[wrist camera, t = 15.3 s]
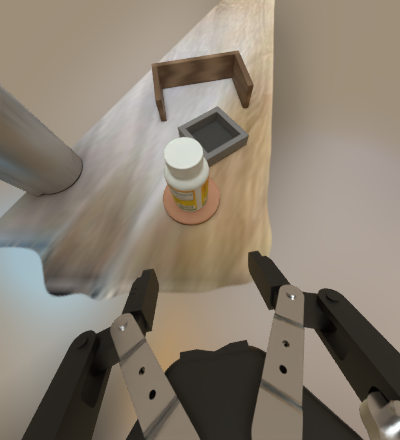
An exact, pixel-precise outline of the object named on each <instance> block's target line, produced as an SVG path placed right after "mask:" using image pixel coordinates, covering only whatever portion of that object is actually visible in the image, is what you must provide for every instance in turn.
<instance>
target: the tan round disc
mask: <svg viewBox="0 0 400 440" xmlns="http://www.w3.org/2000/svg"><path fill="white" fill-rule="evenodd" d="M219 199H220V193H219V189H218V187H217V185H216V183H215V182H214V181H213V180H212V179H211V178H210V177H209V184H208V199H207V202H206V204H205V205H204V206H203V207H202V208H201V209H199V210H197V211H193V212H188V211H184V210H182V209H180V208H179V207H178V206H177V205H176V203H175V201H174V198H173V196H172V194H171V191H170V189H169V187H168V185H167V186H166V188H165V191H164V195H163V202H164V206H165V209H166V210H167V212H168V214H169V215H170V216H171V217H172V218H173V219H174V220H176V221H177V222H179V223H182V224H186V225H196V224H200V223H203V222H205V221H207V220H208V219H209V218H211V217H212V216H213V215H214V213H215V212H216V210H217V208H218V205H219Z"/></svg>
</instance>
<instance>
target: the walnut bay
mask: <svg viewBox="0 0 400 440" xmlns="http://www.w3.org/2000/svg"><path fill="white" fill-rule="evenodd" d="M152 72H153V82H154V91H155V100H156V104H157V107H158V111H159V114H160V117H161V121H166V113H165V106H164V98H163V91H162V89H163V88H170V87H176V86H182V85H189V84H195V83H201V82H207V81H214V80H220V79H226V78H232V79H233V82H234V85H235V87H236V90H237V93H238V95H239V98H240V101H241V103H242V106H243V108H247V107H248V106H249V102H250V97H251V93H252V89H253V82H252V80H251V78H250V76H249V73H248V71H247V69H246V66H245V64H244V62H243V60H242V57H241V55H240V53H239V51H232V52H226V53H219V54H213V55H207V56H200V57H194V58H187V59H181V60H175V61H168V62H162V63H155V64H152Z"/></svg>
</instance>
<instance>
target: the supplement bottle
mask: <svg viewBox="0 0 400 440" xmlns="http://www.w3.org/2000/svg"><path fill="white" fill-rule="evenodd" d="M164 159H165V162H166V164H165V167H164V176H165V179H166V182H167V184H168V187H169V189H170V191H171V194H172V196H173V198H174V201H175V203H176V205H177V206H178V207H179V208H180V209H182V210H184V211H188V212H193V211H197V210H199V209H201V208H202V207H203V206H204V205H205V204H206V202H207V199H208V184H209V166H208V163H207V161H206V159H205V158H204V157H203V149H202V146H201V145H200V144H199V142H197V141H196V140H194V139H192V138H188V137H181V138H177V139H174V140H172V141H171V142H170V143H169V144H168V145H167V146H166V148H165V150H164Z"/></svg>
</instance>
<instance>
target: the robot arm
mask: <svg viewBox="0 0 400 440" xmlns="http://www.w3.org/2000/svg"><path fill="white" fill-rule="evenodd" d="M81 170H82V162H81V159H80V158H79V156H78V155H77V154H76V153H74V152H73V151H72V149H71V148H69V147H68V146H67V145H66V144H65V143H63V141H61V140H60V139H59V138H58V137H57V136H56V135H55V134H54V133H53V132H52V131H50V130H49V129H48V128H47V127H46V126H45V125H44V124H43V123H42V122H41V121H40V120H39V119H38V118H36V117H35V116H34V115H33V114H32V113H31V112H30V111H29V110H28V109H26V108H25V107H24V106H23V105H22V104H21V103H20V102H19V101H18V100H17V99H16V98H15V97H14V96H12V95H11V94H10V93H9V92H8V91H7V90H6V89H5V88H4V87H3V86H2V85H0V180H2V181H4V182H6V183H9V184H11V185H13V186H15V187H17V188H20V189H22V190H24V191H26V192H28V193H31V194H33V195H35V196H39V195H41V194H52V193H57V192H60V191H62V190H64V189H66V188H68V187H69V186H71V185H72V184H73V183H74V182H75V181H76V180H77V178H78V177H79V175H80V173H81ZM248 268H249V272H250V274H251V276H252V278H253V280H254V282H255V284H256V286H257V288H258V289H259V291H260V293H261V295H262V297H263V299H264V301H265V303H266V305H267V307H268V309H269V310H273V309H274V310H275V315H274V318H273V323H272V328H271V333H270V338H269V344H268V348H267V353H266V352H264V351H263V350H261V349H259V348H256V347H253V346H248V343H247V340H244V341H239V342H234V343H230V344H228V345H226V346H224V347H222V348H220V349H219V350H217V351H214V352H213V351H205V350H197V349H196V350H191V351H186V352H181V353H180V359H179V360H177V361H175V362H174V363H173V364H172V365H171V366H170V367H169V368H168V369H167V370H166V371H165V373H164V372H163V370H162V368H161V366H160V365H159V363H158V361H157V359H156V357H155V355H154V354H153V352H152V350H151V348H150V346H149V344H148V343H147V341H146V339H145V335H146V332H149V331H152V325H153V320H154V314H155V308H156V302H157V296H158V291H159V283H158V280H157V277H156V274H155V271H154V269H148V270H144V271H143V273H142V276H141V277H140V278H137V279H136V280H135V282H134V283H133V285H132V288H131V291H130V293H129V296H128V299H127V301H126V304H125V307H124V309H123V312H122V315H121V316H119V317H118V318H117V319H116V320H115V321H114V322H113V323H112V325H111V327H109V328H107V329H105V330H103V331H101V332H99V333H97V334H96V333H95V332H94V331H92V330H90V331H86V332H84V333H82V334H80V335H79V336H78V337H77V338H76V339H75V340H74V341H73V342H72V344H71V345H70V347H69V349H68V351H67V353H66V355H65V357H64V359H63V361H62V363H61V364H60V366H59V368H58V370H57V372H56V374H55V376H54V378H53V380H52V382H51V384H50V386H49V388H48V390H47V392H46V393H45V395H44V397H43V399H42V401H41V403H40V405H39V407H38V409H37V411H36V413H35V415H34V417H33V418H32V420H31V422H30V424H29V426H28V428H27V430H26V432H25V434H24V436H23V438H22V440H91V439H92V436H93V432H94V428H95V425H96V421H97V418H98V414H99V411H100V407H101V403H102V400H103V396H104V393H105V389H106V385H107V382H108V378H109V375H110V371H111V368H112V366H113V365H115V364H116V363H118V362H119V364H120V367H121V370H122V373H123V376H124V379H125V382H126V385H127V388H128V391H129V394H130V397H131V399H132V402H133V405H134V408H135V411H136V414H137V417H138V419H137V421H136V423H135V424H134V426H133V428H132V430H131V432H130V433H129V435H128V437H127V438H126V440H363V439H362V438H361V437H360V436H359V435H358V434H357V433H356V432H355V431H353V429H351V428H350V427H349V426H348V425H347V424H346V423H345V422H343V420H341V419H340V418H339V417H338V416H337V415H336V414H335V413H333V412H332V411H331V410H330V409H329V408H328V407H327V406H326V405H325V404H323V403H322V402H321V401H320V400H319V399H318V398H317V397H316V396H315V395H313V394H312V393H311V392H310V391H309V390H308V389H307V388H305V387H304V386H303V360H304V327H307V328H313V329H315V331H316V333H317V334H318V335H319V337H320V339H321V340H322V342H323V343H324V345H325V346H326V348H327V349H328V351H329V353H330V354H331V356H332V357H333V359H334V360H335V362H336V363H337V365H338V366H339V368H340V369H341V371H342V373H343V374H344V376H345V377H346V379H347V380H348V382H349V383H350V385H351V386H352V388H353V390H354V391H355V392H356V394H357V396H358V397H359V398H360V400H361V402H362V404H361V405H360V409H359V411H360V416H361V419H362V422H363V424H364V426H365V428H366V429H367V432H368V435H369V438H370V440H400V353H399V352H398V351H397V350H396V349H395V348H394V347H393V346H392V345H391V344H390V343H389V342H388V341H387V340H386V339H385V338H384V337H383V336H382V335H381V334H380V333H379V332H378V331H377V330H376V329H375V328H374V327H373V326H372V325H371V324H370V323H369V322H368V321H367V319H365V317H364V316H362V314H360V312H359V311H358V310H357V309H356V308H355V307H354V306H353V305H352V304H351V303H350V302H349V301H348V300H347V299H346V298H345V297H344V296H343V295H342V294H340V293H338V292H337V291H335V290H332V289H325V288H324V289H321V290H319V292H318V294H315V293H306V292H302V291H301V290H300V289H298V288H297V287H295V286H293V285H291V284H290V283H289V282H288V281H287V279H286V278H285V277H284V275H283V274H282V273H281V272H280V270H279V269H278V268H277V266H276V265H275V264H274V262H273V261H272V260H271V259H270V258H268V257H267V256H262V255H261V254H260V253H259V251H253V252H249V253H248Z"/></svg>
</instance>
